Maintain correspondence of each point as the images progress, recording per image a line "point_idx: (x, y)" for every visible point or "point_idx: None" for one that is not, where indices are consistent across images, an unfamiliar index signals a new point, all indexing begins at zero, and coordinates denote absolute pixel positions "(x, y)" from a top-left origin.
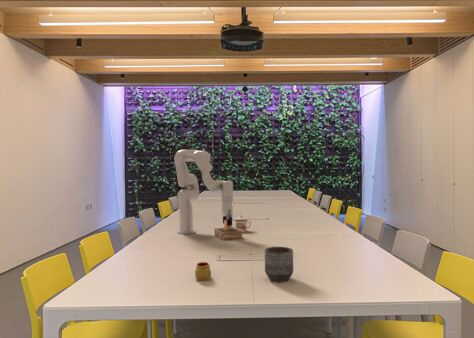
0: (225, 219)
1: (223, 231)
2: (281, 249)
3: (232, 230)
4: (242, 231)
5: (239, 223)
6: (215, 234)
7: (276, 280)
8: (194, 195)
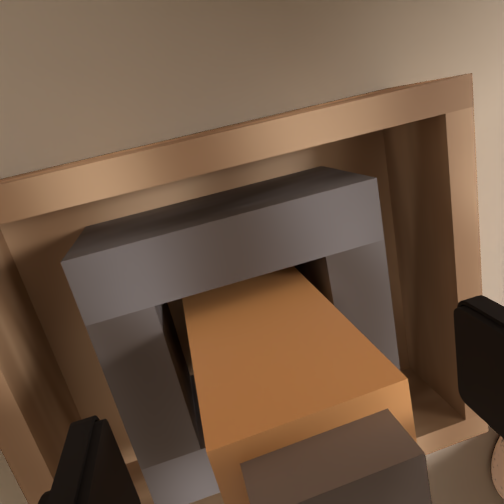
0: (365, 456)
1: (80, 250)
2: None
3: (129, 430)
4: (494, 468)
5: None
6: (352, 97)
7: None
8: None
